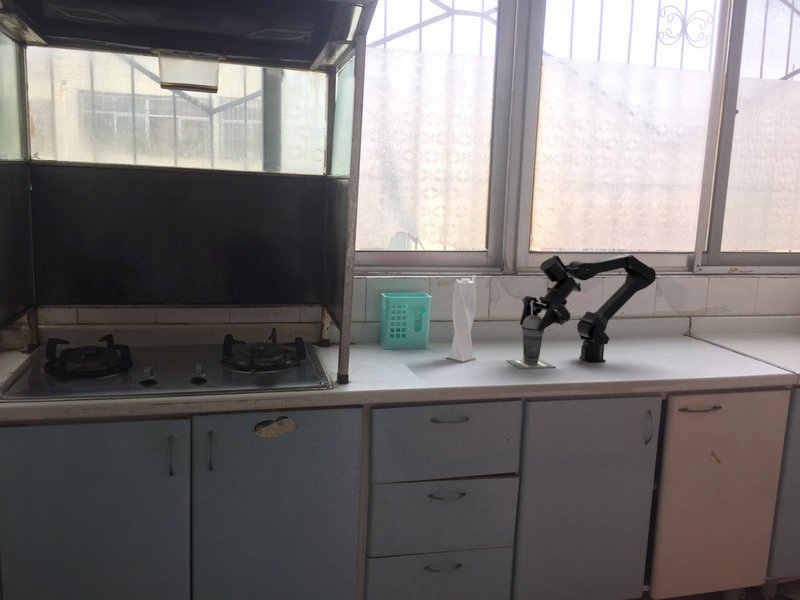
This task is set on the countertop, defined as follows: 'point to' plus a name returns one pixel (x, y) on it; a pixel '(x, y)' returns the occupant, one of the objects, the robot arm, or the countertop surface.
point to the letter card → (522, 365)
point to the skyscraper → (463, 319)
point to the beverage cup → (531, 338)
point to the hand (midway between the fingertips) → (529, 327)
